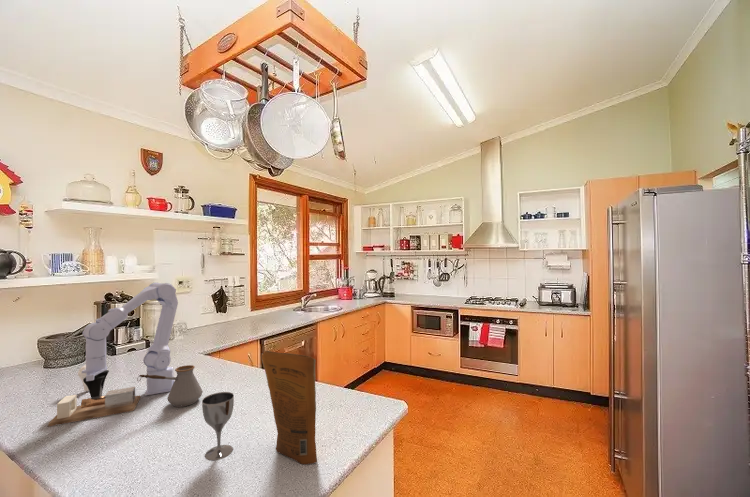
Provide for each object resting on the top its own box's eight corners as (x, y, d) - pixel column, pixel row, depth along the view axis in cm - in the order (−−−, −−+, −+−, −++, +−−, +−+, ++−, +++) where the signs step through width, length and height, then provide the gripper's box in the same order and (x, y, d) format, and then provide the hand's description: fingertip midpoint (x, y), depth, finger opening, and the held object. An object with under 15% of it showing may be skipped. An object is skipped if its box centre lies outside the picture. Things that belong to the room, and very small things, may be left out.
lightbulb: (86, 394, 134) (86, 367, 134) (74, 393, 135) (74, 366, 135) (101, 388, 140) (101, 362, 140) (89, 387, 141) (89, 361, 141)
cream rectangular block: (76, 408, 119) (76, 394, 119) (69, 416, 113) (69, 402, 113) (65, 410, 118) (65, 396, 118) (57, 419, 112) (57, 404, 112)
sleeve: (135, 399, 126) (135, 386, 126) (132, 404, 122) (132, 391, 122) (108, 403, 122) (108, 390, 122) (105, 409, 118) (105, 395, 118)
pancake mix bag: (308, 474, 82) (305, 360, 82) (260, 449, 93) (258, 349, 93) (327, 460, 87) (324, 353, 88) (280, 438, 98) (278, 343, 99)
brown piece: (130, 398, 124) (129, 380, 125) (128, 401, 122) (128, 383, 122) (83, 406, 119) (83, 388, 119) (80, 409, 116) (80, 391, 116)
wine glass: (210, 445, 96) (209, 392, 96) (238, 443, 96) (237, 391, 97) (197, 462, 88) (196, 405, 88) (228, 460, 88) (227, 403, 89)
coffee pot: (192, 393, 132) (191, 355, 133) (208, 399, 126) (208, 360, 127) (130, 416, 114) (130, 372, 115) (146, 424, 108) (145, 378, 109)
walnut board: (140, 397, 130) (140, 395, 130) (133, 410, 119) (133, 407, 119) (63, 411, 119) (63, 408, 119) (48, 426, 109) (48, 423, 109)
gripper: (88, 353, 124) (89, 389, 124) (74, 364, 111) (74, 405, 111) (112, 350, 127) (112, 385, 127) (100, 360, 114) (101, 400, 114)
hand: (96, 394), depth 119 cm, fingers closed on brown piece, 3 cm apart
